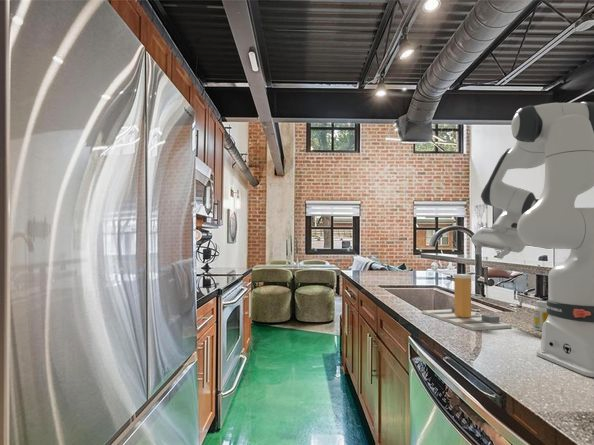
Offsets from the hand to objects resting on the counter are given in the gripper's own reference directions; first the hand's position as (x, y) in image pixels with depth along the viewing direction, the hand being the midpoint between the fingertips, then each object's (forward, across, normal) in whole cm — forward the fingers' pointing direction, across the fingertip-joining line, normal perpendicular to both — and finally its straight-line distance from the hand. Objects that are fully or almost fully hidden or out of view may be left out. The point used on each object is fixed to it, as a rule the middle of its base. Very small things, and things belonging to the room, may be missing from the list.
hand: (487, 255), depth 138 cm
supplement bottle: (+16, +22, +15) cm, 31 cm away
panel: (+26, +1, +7) cm, 27 cm away
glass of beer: (+25, +1, +6) cm, 25 cm away
